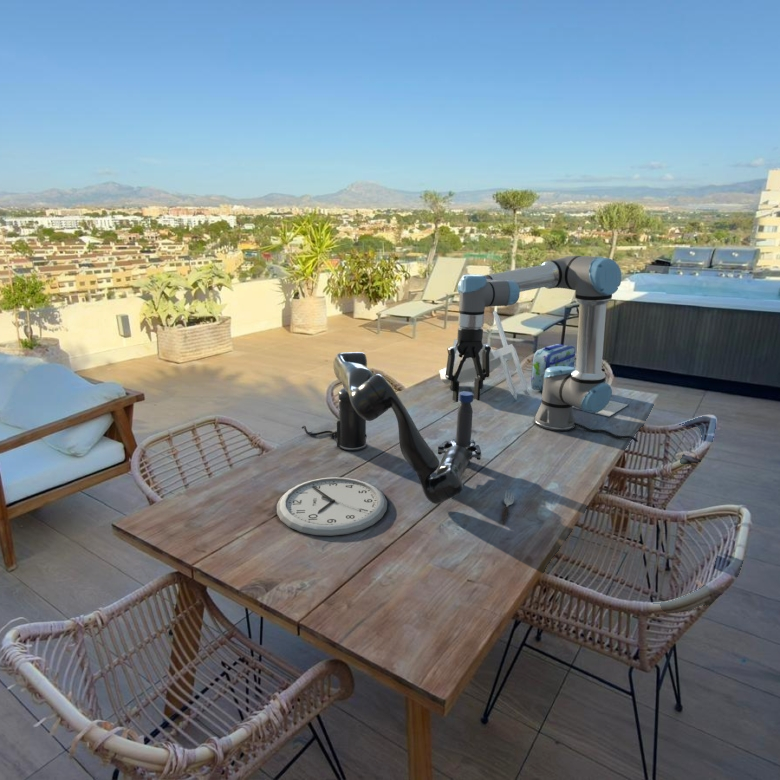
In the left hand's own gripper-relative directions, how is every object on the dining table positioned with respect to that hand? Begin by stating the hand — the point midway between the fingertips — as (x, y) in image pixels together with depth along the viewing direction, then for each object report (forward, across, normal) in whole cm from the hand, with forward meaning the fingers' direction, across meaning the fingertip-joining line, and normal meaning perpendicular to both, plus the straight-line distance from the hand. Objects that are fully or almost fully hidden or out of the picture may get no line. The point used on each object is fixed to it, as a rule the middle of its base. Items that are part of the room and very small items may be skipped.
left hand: (464, 441), depth 171 cm
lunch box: (+93, -26, +6) cm, 97 cm away
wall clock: (-42, +29, +6) cm, 51 cm away
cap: (-3, 0, -17) cm, 17 cm away
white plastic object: (+75, +6, +6) cm, 76 cm away
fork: (-29, -17, +6) cm, 34 cm away
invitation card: (+73, -47, +6) cm, 87 cm away
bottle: (-3, 0, +6) cm, 7 cm away
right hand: (-3, 0, -15) cm, 15 cm away
